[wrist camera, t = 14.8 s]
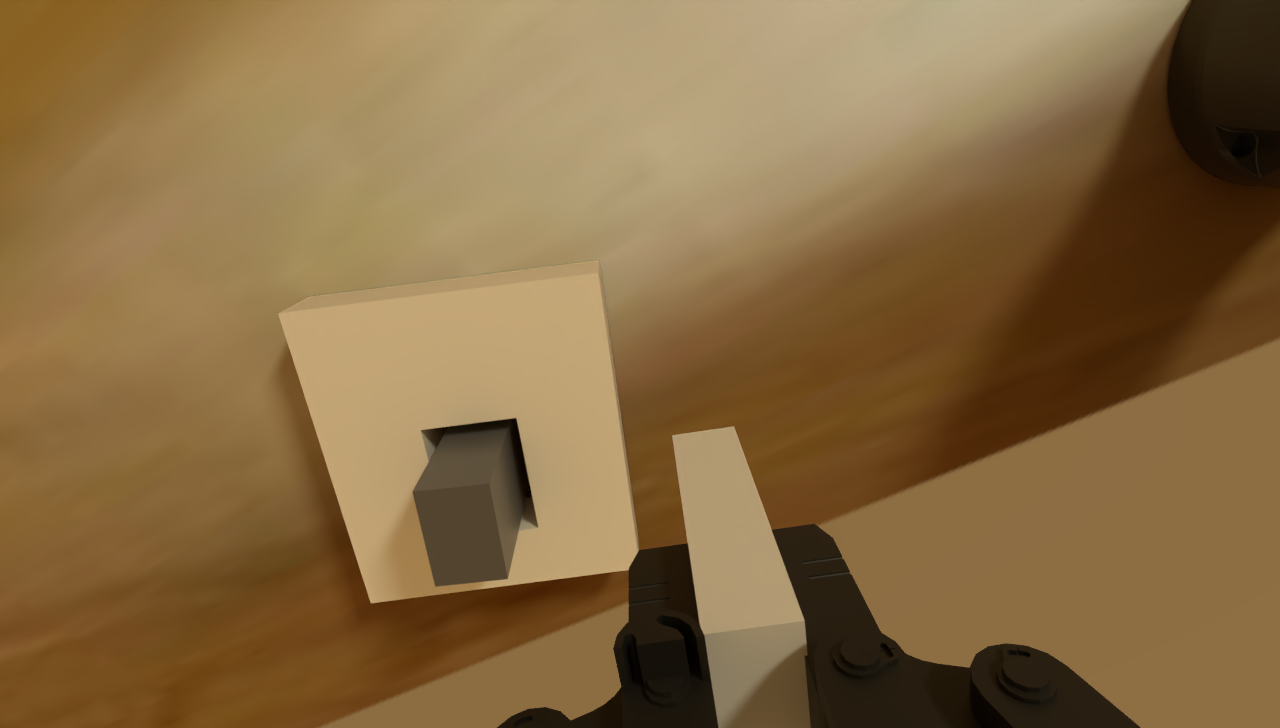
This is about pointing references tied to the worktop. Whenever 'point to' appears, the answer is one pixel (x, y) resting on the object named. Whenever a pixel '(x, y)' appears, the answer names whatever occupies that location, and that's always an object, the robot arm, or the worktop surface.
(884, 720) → the robot arm
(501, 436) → the plug
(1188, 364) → the worktop surface
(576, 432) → the socket plate
